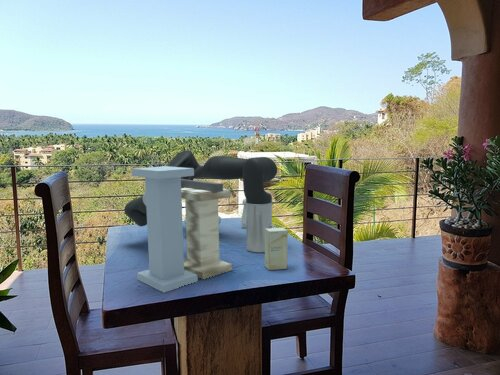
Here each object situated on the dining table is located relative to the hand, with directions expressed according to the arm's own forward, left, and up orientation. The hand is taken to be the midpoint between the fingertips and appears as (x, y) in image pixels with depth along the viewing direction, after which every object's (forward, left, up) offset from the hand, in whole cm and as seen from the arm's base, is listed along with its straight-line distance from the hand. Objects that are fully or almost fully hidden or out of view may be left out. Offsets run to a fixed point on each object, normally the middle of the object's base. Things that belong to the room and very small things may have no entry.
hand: (179, 173), depth 124 cm
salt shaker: (-20, -48, -29) cm, 60 cm away
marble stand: (-8, +8, -29) cm, 31 cm away
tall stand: (+1, +17, -29) cm, 34 cm away
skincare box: (-30, +7, -29) cm, 43 cm away
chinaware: (-2, -32, -29) cm, 44 cm away
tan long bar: (-5, +5, -4) cm, 8 cm away
